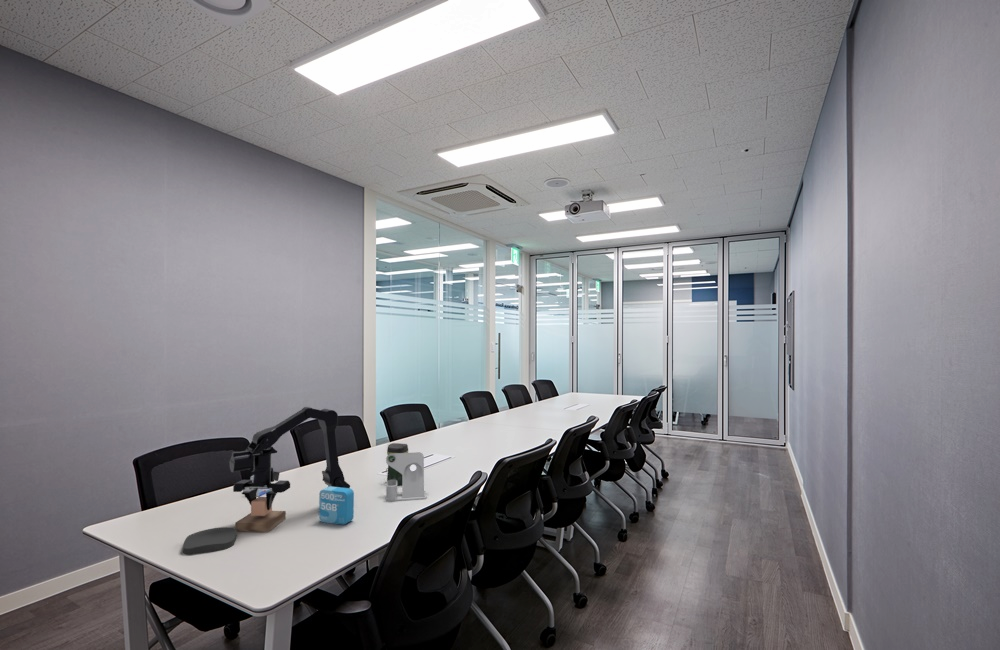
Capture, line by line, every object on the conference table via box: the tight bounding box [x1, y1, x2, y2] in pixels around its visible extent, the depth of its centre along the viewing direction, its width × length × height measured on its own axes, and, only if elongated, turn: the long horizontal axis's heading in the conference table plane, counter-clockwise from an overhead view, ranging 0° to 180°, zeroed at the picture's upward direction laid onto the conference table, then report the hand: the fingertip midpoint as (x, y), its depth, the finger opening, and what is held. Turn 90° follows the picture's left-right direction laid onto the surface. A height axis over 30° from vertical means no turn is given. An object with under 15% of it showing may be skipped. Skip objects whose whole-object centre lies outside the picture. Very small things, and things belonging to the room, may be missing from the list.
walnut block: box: [234, 510, 287, 533], centre depth 172 cm, size 12×12×3 cm
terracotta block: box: [250, 496, 273, 516], centre depth 172 cm, size 5×5×5 cm
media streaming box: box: [182, 526, 238, 556], centre depth 156 cm, size 15×15×3 cm
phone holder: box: [385, 451, 428, 503], centre depth 203 cm, size 17×10×18 cm, turn 102°
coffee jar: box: [386, 442, 409, 486], centre depth 223 cm, size 10×8×19 cm
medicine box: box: [249, 474, 269, 498], centre depth 207 cm, size 8×4×9 cm, turn 168°
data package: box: [318, 486, 355, 526], centre depth 175 cm, size 12×4×12 cm, turn 74°
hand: (261, 509), depth 172 cm, fingers closed on terracotta block, 5 cm apart
